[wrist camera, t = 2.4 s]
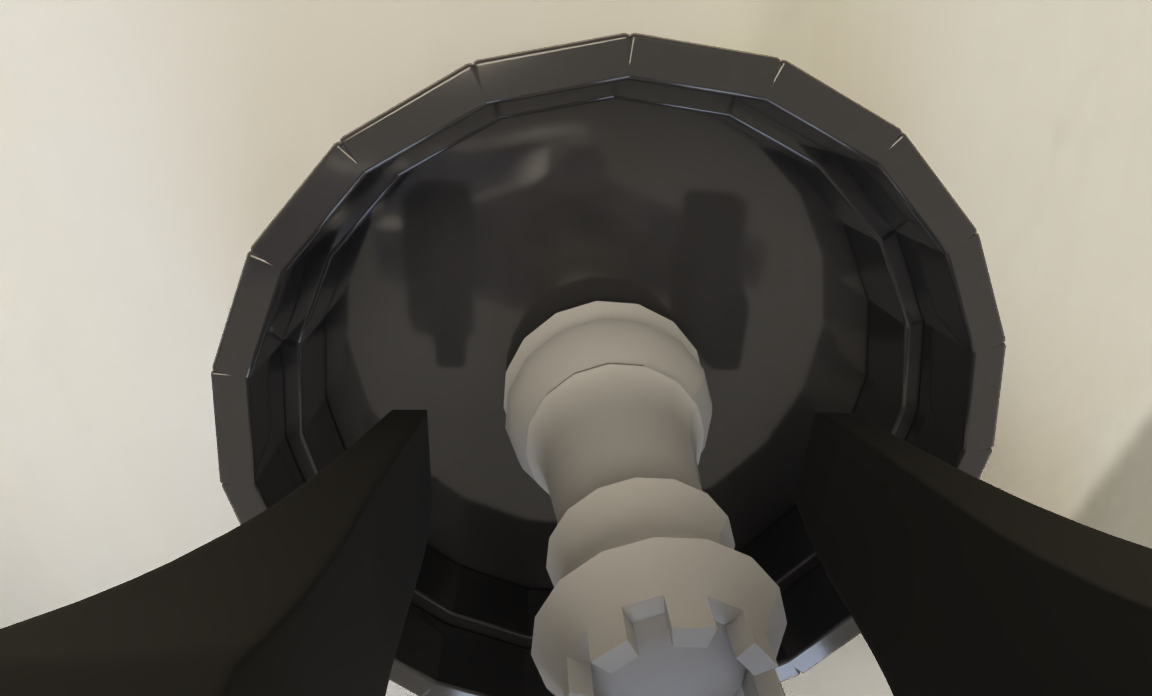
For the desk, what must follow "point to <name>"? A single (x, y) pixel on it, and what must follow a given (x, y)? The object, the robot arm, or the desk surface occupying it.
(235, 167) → the desk surface
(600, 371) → the rook chess piece
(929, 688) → the robot arm
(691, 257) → the pan
